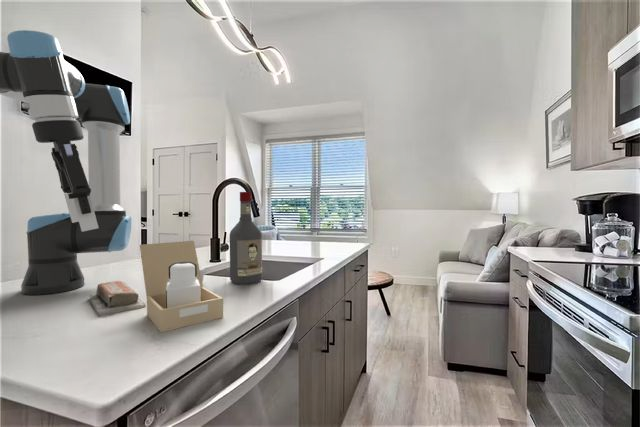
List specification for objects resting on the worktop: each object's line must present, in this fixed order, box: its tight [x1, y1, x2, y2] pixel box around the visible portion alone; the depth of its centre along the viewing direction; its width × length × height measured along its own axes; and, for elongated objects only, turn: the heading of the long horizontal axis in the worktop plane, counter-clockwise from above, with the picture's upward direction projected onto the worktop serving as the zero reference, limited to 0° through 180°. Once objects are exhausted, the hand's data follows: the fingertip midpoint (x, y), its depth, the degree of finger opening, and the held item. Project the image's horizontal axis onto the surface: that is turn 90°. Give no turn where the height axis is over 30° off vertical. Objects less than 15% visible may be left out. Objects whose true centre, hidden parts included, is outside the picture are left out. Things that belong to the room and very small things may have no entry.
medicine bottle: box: [166, 262, 201, 308], centre depth 75 cm, size 7×7×12 cm
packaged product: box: [88, 280, 147, 316], centre depth 86 cm, size 18×5×10 cm
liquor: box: [229, 191, 263, 286], centre depth 109 cm, size 9×9×30 cm
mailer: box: [139, 240, 224, 333], centre depth 78 cm, size 20×13×16 cm, turn 39°
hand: (84, 225), depth 68 cm, fingers open, 13 cm apart
